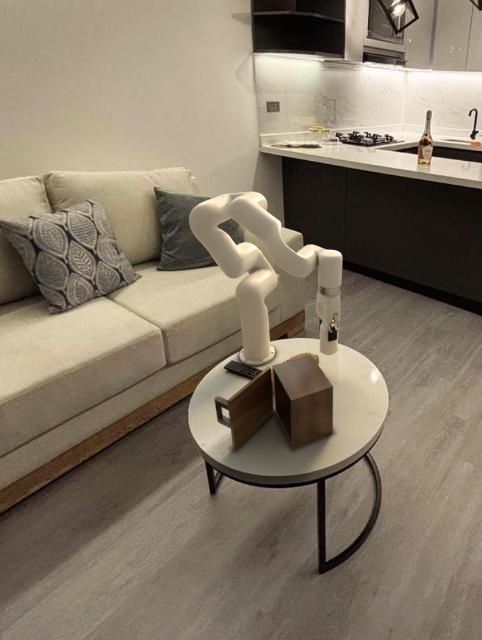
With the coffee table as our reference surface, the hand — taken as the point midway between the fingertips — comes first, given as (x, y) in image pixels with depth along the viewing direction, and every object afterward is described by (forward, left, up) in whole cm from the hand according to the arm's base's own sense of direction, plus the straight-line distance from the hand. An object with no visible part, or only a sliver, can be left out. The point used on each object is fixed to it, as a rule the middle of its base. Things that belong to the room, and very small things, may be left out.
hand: (327, 334), depth 138 cm
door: (+12, -32, -15) cm, 37 cm away
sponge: (-1, -12, -15) cm, 19 cm away
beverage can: (0, 0, -7) cm, 7 cm away
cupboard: (+18, -17, -15) cm, 29 cm away
